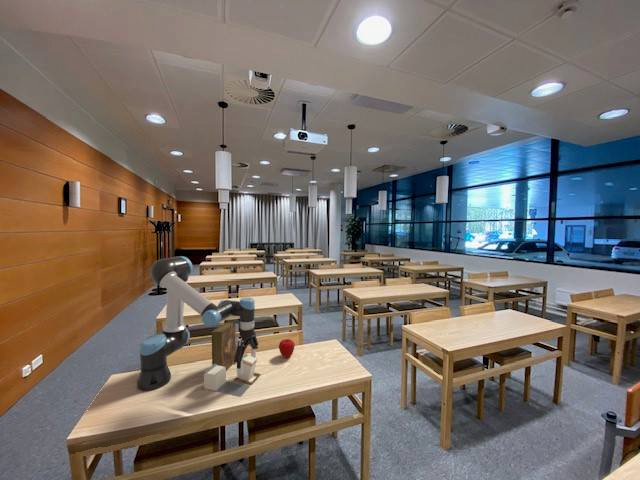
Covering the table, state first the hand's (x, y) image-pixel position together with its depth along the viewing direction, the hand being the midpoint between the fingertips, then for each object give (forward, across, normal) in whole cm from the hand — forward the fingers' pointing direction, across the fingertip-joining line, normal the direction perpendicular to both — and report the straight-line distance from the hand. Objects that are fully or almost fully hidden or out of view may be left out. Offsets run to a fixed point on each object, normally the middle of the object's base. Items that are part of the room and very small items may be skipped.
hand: (246, 366), depth 141 cm
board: (+7, -10, +6) cm, 14 cm away
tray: (+7, 0, 0) cm, 7 cm away
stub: (+6, 0, +1) cm, 6 cm away
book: (+8, +6, +18) cm, 20 cm away
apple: (+7, +30, -10) cm, 33 cm away
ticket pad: (+6, -10, +12) cm, 17 cm away
